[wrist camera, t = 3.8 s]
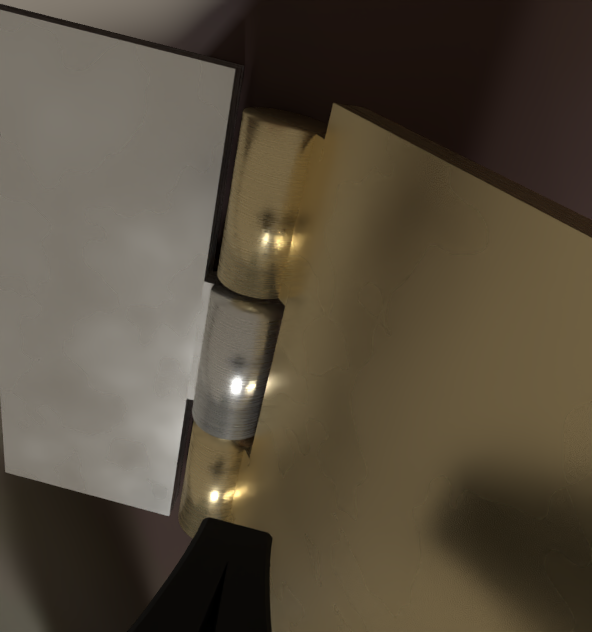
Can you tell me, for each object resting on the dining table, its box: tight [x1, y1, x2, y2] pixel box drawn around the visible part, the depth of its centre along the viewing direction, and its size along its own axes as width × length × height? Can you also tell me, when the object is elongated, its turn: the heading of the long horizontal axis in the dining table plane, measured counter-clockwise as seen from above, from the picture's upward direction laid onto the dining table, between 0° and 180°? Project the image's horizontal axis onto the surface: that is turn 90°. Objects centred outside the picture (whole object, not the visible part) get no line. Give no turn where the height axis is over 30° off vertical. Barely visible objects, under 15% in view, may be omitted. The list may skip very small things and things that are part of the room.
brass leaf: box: [178, 103, 592, 632], centre depth 13 cm, size 13×16×2 cm
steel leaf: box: [0, 4, 285, 516], centre depth 17 cm, size 9×16×2 cm, turn 168°
